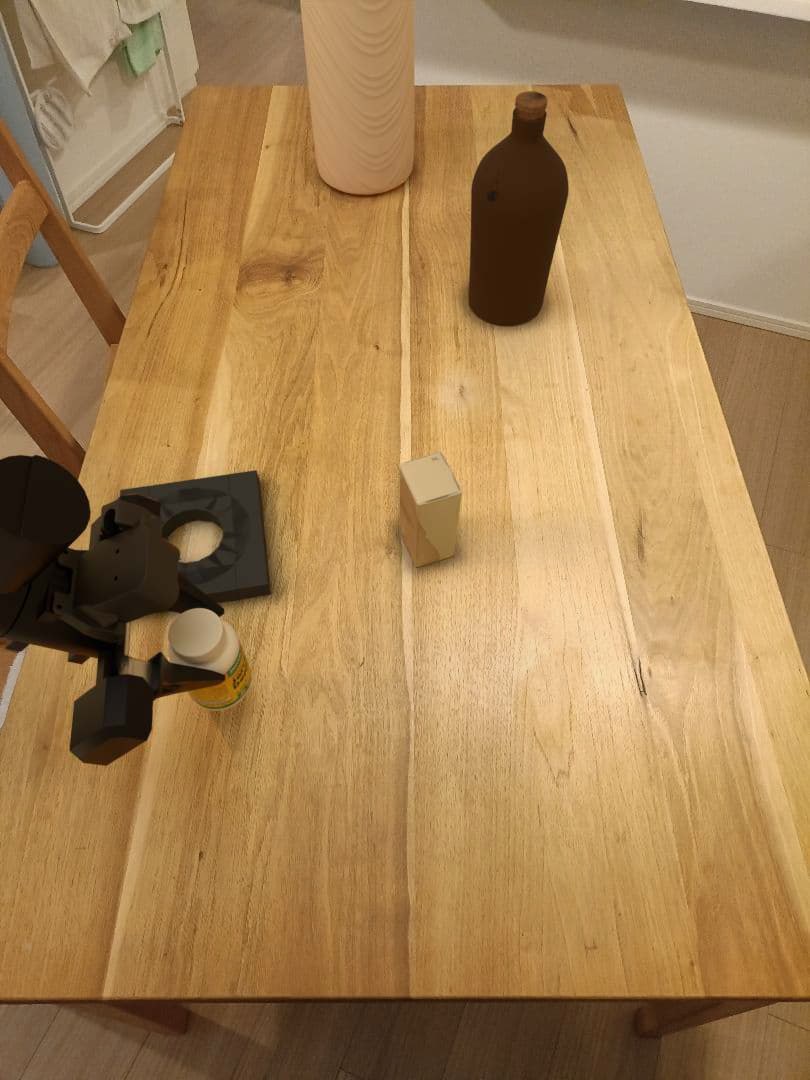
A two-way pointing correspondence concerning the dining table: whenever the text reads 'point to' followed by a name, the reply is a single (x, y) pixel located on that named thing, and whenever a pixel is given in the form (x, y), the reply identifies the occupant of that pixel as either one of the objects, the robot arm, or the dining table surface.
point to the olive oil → (516, 218)
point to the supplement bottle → (210, 656)
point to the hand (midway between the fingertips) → (222, 646)
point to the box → (428, 508)
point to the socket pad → (240, 516)
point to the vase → (361, 91)
